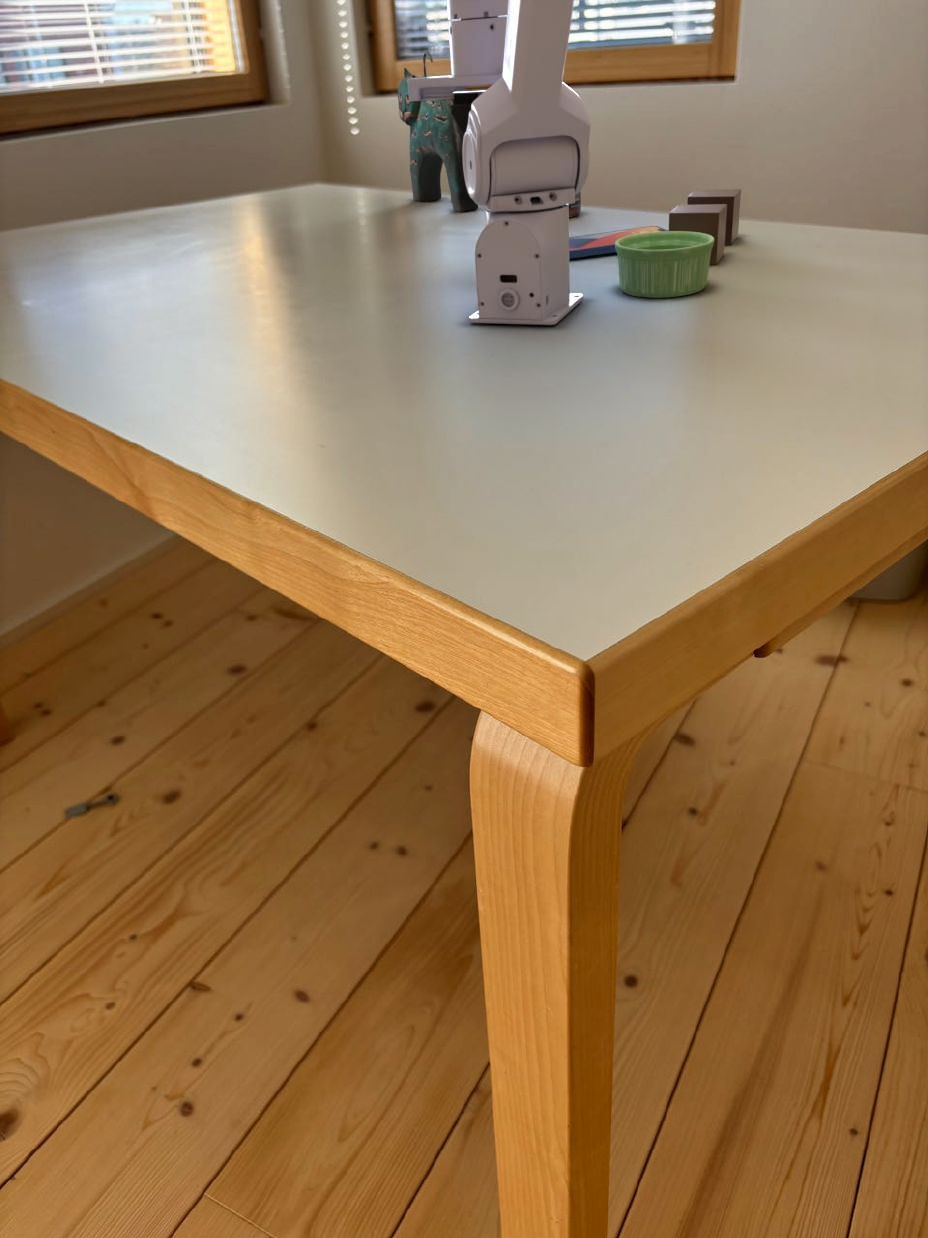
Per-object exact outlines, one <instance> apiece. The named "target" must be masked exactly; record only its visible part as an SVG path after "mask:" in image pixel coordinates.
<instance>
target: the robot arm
mask: <svg viewBox="0 0 928 1238" xmlns="http://www.w3.org/2000/svg"><path fill="white" fill-rule="evenodd" d="M574 4H575V0H446V11H447V12H446V13H447V27H448V28H447V29H448V43H449V58H450V71H451V72H450V74H448V75H447V74H446V75H435V76H432V77H419V78H411V79H408V91H409V101H421V100H434V99H452V98H454V101H453V105H450V111H451V114H452V116H453V118H454V119H455V121H456V123H457V124H458V126H459V128H460V130H461V132H462V134H463V137H464V138H463V170H464V178H465V183H466V188H467V191H468V194H469V196H470V197H471V199H473V200H474V202H475V203H476V204H477V205H478V206H480V207H481V208H482V209H484V214H485V215H484V216H485V226H484V228H483V229H482V231H481V232H480V234H479V236H478V237H477V240H476V244H475V247H474V260H475V261H474V263H475V276H476V277H475V279H476V280H475V281H476V296H477V309H478V310H477V311H475V312H474V313H473V314H471V315H470V316H469V317H468V322H469V323H472V324H503V325H504V324H505V325H533V326H534V325H536V326H554V325H557V324H558V323H559V322H560V321H561V320H562V319H563V318H564V317H566V315H568V314H569V313H570V312H571V311H572V310H573V309H574V308H575V307H576V306H578V304H580V303H581V302H582V301H583V300H584V294H583V293H571V285H570V284H571V283H570V279H571V278H570V276H571V275H570V271H571V270H570V259H569V237H570V217H569V204H572V203H575V195H577V194H579V193H580V191H582V190H583V187H584V186H585V185H586V183H587V180H588V177H589V170H590V160H591V159H590V136H591V128H592V127H591V125H592V124H591V121H590V117H589V114H588V111H587V108H586V106H585V103H584V101H583V99H582V97H580V95H579V93H577V92H576V91H574V89H573V88H571V87H570V86H568V84H566V83H565V82H564V74H565V68H566V61H567V54H568V48H569V40H570V33H571V25H572V19H573V12H574V6H575V5H574ZM490 85H491V86H490ZM476 86H477V87H479V86H490V87H488V88H487V89H486V90H472V91H471V90H469V91H464V90H467V87H476ZM454 91H458V92H454Z"/></svg>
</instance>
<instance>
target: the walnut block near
mask: <svg viewBox="0 0 928 1238" xmlns="http://www.w3.org/2000/svg"><path fill="white" fill-rule="evenodd" d="M726 215H727V204H704V205H687V204H678V205H677V206H676V207H675V208H673V209H672V210H671V211H670V212H669V213H668V230H669V231H688V232H699V233H704V234H708V235H711V236H712V237H713V238H714V245H713V248H712V250H711V256H710V263H709V266H716V265H718V263H719V262H720V260H721V259H722V258H723V257H724V255H725V246H726V245H725V231H726Z"/></svg>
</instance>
